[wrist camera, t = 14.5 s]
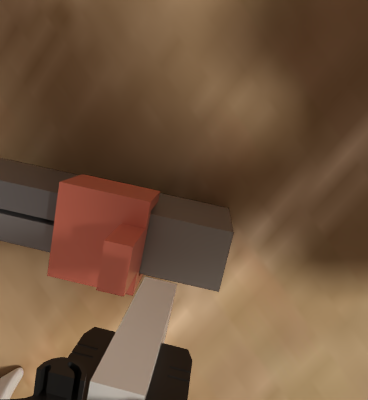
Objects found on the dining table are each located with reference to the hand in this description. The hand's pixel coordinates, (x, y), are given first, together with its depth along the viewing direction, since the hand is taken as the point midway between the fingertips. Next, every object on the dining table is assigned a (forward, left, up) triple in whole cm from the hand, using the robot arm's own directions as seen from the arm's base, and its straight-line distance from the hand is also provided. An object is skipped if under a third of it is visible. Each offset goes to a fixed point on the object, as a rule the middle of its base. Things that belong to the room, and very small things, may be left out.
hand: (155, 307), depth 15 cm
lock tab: (0, -5, -11) cm, 12 cm away
